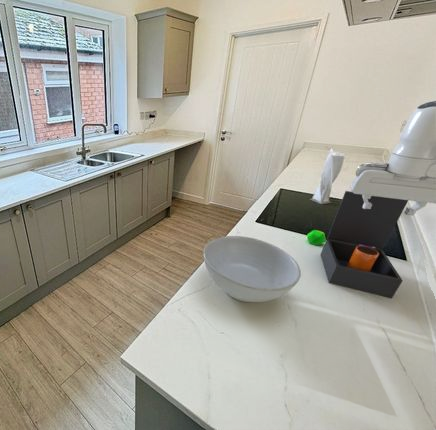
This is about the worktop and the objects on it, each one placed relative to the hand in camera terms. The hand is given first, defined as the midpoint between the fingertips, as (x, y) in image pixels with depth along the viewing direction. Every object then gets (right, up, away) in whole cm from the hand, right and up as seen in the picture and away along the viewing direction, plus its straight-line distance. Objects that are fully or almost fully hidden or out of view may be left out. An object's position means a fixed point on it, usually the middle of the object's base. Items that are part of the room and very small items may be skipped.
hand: (386, 211), depth 77 cm
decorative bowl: (-38, -25, +9) cm, 47 cm away
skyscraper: (+34, +7, +68) cm, 76 cm away
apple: (+3, -13, +32) cm, 34 cm away
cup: (+1, -22, +11) cm, 25 cm away
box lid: (+5, -3, +12) cm, 13 cm away
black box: (+2, -22, +13) cm, 26 cm away
